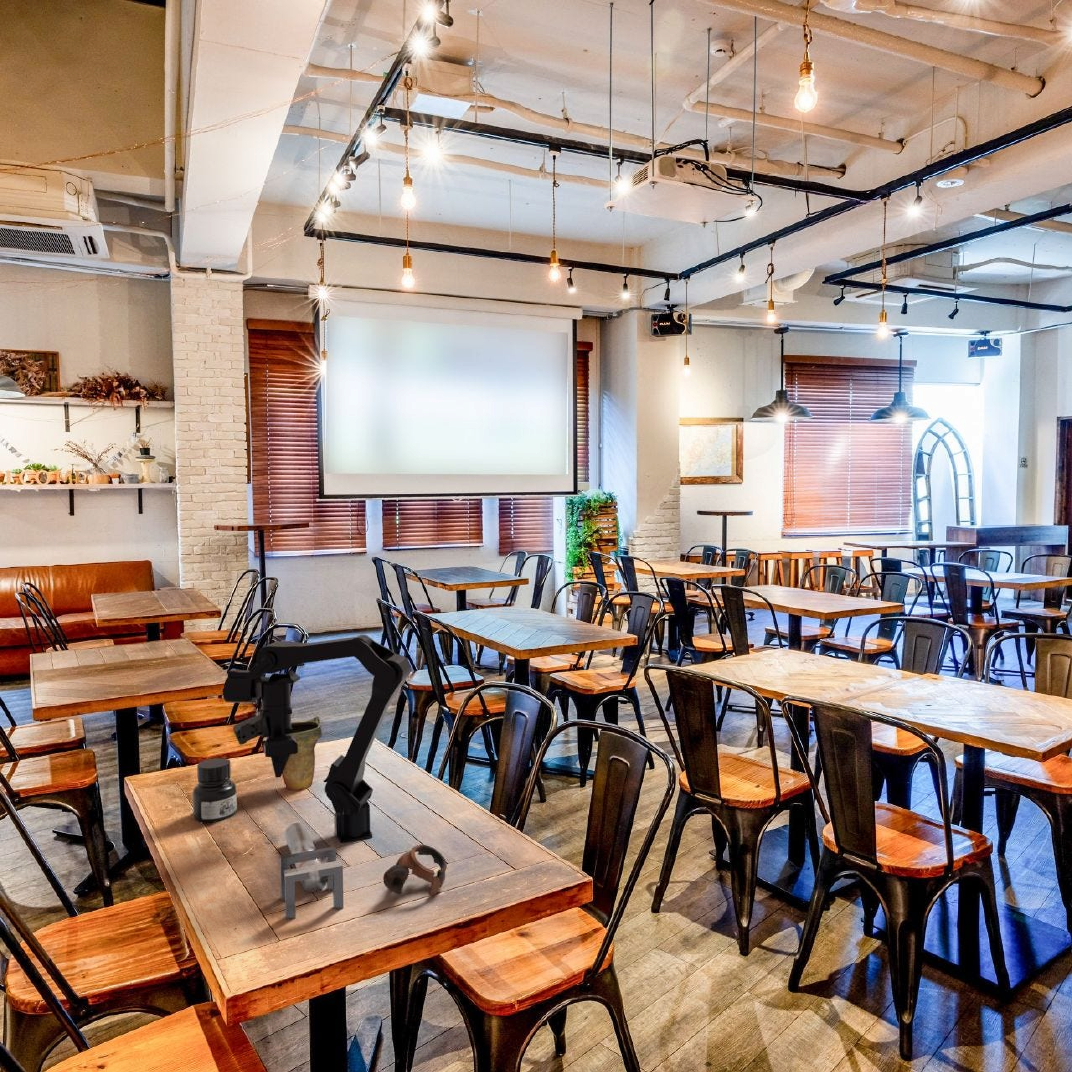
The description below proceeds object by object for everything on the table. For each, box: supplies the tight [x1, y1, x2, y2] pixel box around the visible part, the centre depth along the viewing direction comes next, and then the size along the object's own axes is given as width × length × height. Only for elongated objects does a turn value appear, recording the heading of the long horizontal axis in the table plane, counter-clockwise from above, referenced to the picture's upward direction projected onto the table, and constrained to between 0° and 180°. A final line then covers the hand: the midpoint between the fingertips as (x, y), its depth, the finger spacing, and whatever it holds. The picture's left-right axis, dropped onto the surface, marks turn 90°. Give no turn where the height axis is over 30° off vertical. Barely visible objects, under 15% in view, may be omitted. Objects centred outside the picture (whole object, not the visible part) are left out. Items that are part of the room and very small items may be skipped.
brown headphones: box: [383, 844, 448, 897], centre depth 143 cm, size 12×9×8 cm
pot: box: [281, 715, 323, 791], centre depth 194 cm, size 17×11×18 cm, turn 150°
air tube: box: [284, 822, 327, 893], centre depth 154 cm, size 22×4×4 cm, turn 25°
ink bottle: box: [192, 757, 238, 824], centre depth 178 cm, size 10×9×12 cm
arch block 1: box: [279, 846, 337, 902], centre depth 143 cm, size 9×1×8 cm, turn 114°
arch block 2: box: [284, 859, 344, 921], centre depth 136 cm, size 9×1×8 cm, turn 114°
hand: (278, 776), depth 168 cm, fingers closed
